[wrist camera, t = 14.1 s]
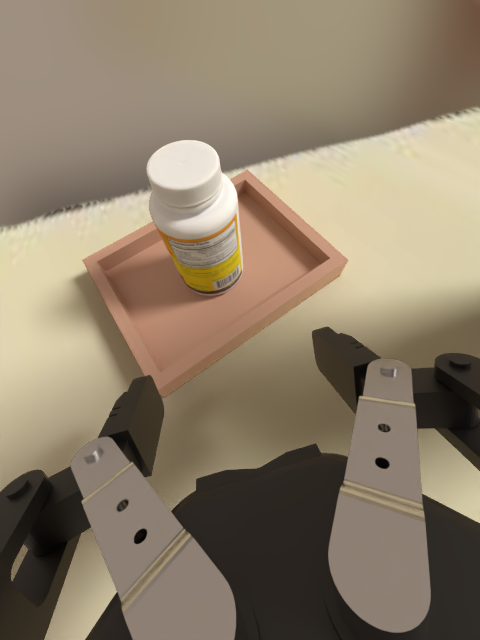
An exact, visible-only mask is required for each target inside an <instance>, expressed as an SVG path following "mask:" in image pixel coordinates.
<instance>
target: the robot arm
mask: <svg viewBox="0 0 480 640" xmlns="http://www.w3.org/2000/svg"><path fill="white" fill-rule="evenodd" d="M312 338H313V346H314V353H315V359H316V363H317V366H318V368H319V370H320V371H321V372H322V374H323V375H324V376H325V377H326V378H327V380H328V381H329V382H330V383H331V385H332V386H333V387H334V388H335V389H336V391H337V392H338V393H339V394H340V396H341V397H342V398H343V399H344V401H345V402H346V403H347V404H348V405H349V407H350V408H351V409H352V410H353V412H354V413H355V414H356V417H355V423H354V428H353V434H352V439H351V445H350V450H349V456H348V457H347V456H343V455H338V454H331V453H321V452H320V451H319V449H318V447H317V445H316V444H313V445H309V446H306V447H303V448H299V449H296V450H293V451H289V452H286V453H285V454H283V455H281V456H279V457H278V458H276V459H274V460H272V461H271V462H269V463H267V464H265V465H264V466H262V467H260V468H256V469H238V470H225V471H221V472H218V473H215V474H211V475H208V476H204V477H201V478H198V479H196V491H194V492H193V493H191V494H190V495H188V496H187V497H186V498H185V499H183V500H182V501H181V502H180V503H179V504H178V505H177V506H176V507H175V508H174V509H173V510H172V511H170V510H169V509H168V507H167V506H166V505H165V503H164V502H163V501H162V499H161V498H160V497H159V496H158V494H157V493H156V492H155V490H154V489H153V488H152V486H151V485H150V484H149V483H148V481H147V480H146V479H145V477H148V476H151V475H152V470H153V465H154V460H155V455H156V450H157V446H158V441H159V436H160V431H161V426H162V422H163V417H164V405H163V401H162V399H161V397H160V394H159V392H158V389H157V387H156V385H155V382H154V380H153V378H152V376H151V375H147V376H144V377H140V378H136V379H134V380H133V381H132V383H131V385H130V387H129V390H128V392H124V393H123V394H122V395H121V396H120V397H119V399H118V400H117V401H116V402H115V404H114V406H113V408H112V411H111V412H110V414H109V418H108V419H107V421H106V423H105V425H104V427H103V429H102V431H101V433H100V435H99V437H98V439H95V440H93V441H91V442H90V443H88V444H87V445H85V446H84V447H83V448H81V449H80V450H79V451H78V452H77V454H76V455H75V456H74V458H73V459H72V462H71V466H70V467H68V468H66V469H65V470H63V471H61V472H59V473H57V474H55V475H53V476H51V477H49V478H47V476H46V475H45V473H44V472H43V471H42V470H33V471H30V472H27V473H25V474H23V475H21V476H20V477H18V478H17V479H15V480H14V481H12V482H11V483H10V484H9V485H7V486H6V487H5V488H4V489H3V490H2V491H1V492H0V640H44V638H45V635H46V633H47V630H48V627H49V624H50V621H51V618H52V615H53V612H54V610H55V607H56V604H57V601H58V598H59V595H60V592H61V590H62V587H63V584H64V581H65V578H66V575H67V572H68V569H69V567H70V564H71V561H72V558H73V555H74V552H75V549H76V547H77V544H78V541H79V538H80V535H81V533H82V532H84V531H85V530H87V529H89V528H90V527H92V530H93V532H94V535H95V537H96V540H97V542H98V545H99V547H100V550H101V552H102V555H103V557H104V560H105V562H106V565H107V567H108V570H109V572H110V575H111V577H112V580H113V582H114V585H115V587H116V590H117V593H116V594H115V596H114V597H113V599H112V600H111V602H110V603H109V605H108V606H107V608H106V609H105V611H104V612H103V614H102V615H101V617H100V618H99V620H98V621H97V623H96V624H95V626H94V627H93V629H92V630H91V632H90V633H89V635H88V636H87V638H86V639H85V640H480V523H478V522H476V521H474V520H472V519H470V518H468V517H466V516H464V515H462V514H460V513H459V512H457V511H455V510H453V509H451V508H449V507H447V506H445V505H443V504H441V503H439V502H437V501H435V500H433V499H431V498H430V497H428V496H426V495H424V494H422V489H421V476H420V462H419V449H418V435H417V428H435V429H436V430H437V431H438V432H439V433H440V434H441V435H442V436H444V437H445V438H446V439H447V440H448V441H449V442H450V443H451V444H452V445H453V446H454V447H455V448H456V449H457V450H458V451H459V452H460V453H461V454H462V455H463V456H465V457H466V458H467V459H468V460H469V461H470V462H471V463H472V464H473V465H474V466H475V467H476V468H477V469H478V470H479V471H480V359H478V358H476V357H473V356H470V355H466V354H459V353H449V354H443V355H440V356H438V357H437V358H436V359H435V364H434V368H419V369H411V368H410V367H409V366H408V365H407V364H406V363H404V362H402V361H399V360H396V359H389V358H384V359H381V358H380V357H379V356H377V355H376V354H375V353H373V352H372V351H371V350H369V349H368V348H367V347H364V345H362V344H361V343H360V342H358V341H357V340H356V339H354V338H353V337H352V336H349V335H346V334H343V333H340V334H337V333H336V332H334V331H333V330H332V329H331V328H329V327H324V328H321V329H317V330H313V331H312ZM23 544H24V545H25V546H26V547H27V548H28V551H27V553H26V555H25V557H24V559H23V561H22V563H21V565H20V567H19V570H18V572H17V574H16V576H15V578H14V580H13V582H11V569H12V565H13V563H14V561H15V559H16V557H17V555H18V553H19V551H20V549H21V547H22V545H23Z"/></svg>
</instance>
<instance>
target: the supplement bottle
mask: <svg viewBox="0 0 480 640" xmlns="http://www.w3.org/2000/svg"><path fill="white" fill-rule="evenodd" d="M147 175H148V178H149V181H150V183H151V186H152V193H151V196H150V200H149V211H150V215H151V217H152V220H153V222H154V224H155V226H156V228H157V230H158V232H159V234H160V236H161V238H162V240H163V242H164V244H165V246H166V248H167V250H168V251H169V254H170V255H171V258H172V260H173V261H174V263H175V265H176V267H177V269H178V271H179V273H180V276H181V277H182V279H183V281H184V283H185V284H186V285H187V286H188V287H189V288H190V289H191V290H192V291H194V292H196V293H198V294H201V295H207V296H213V295H219V294H222V293H225V292H227V291H229V290H230V289H231V288H233V287H234V286H235V285H236V284H237V282H238V281H239V279H240V278H241V275H242V272H243V255H242V243H241V232H240V220H239V208H238V198H237V192H236V189H235V187H234V185H233V183H232V182H231V181H230V179H229V178H228V177H227V176H226V175H224V174H223V173H222V172H221V169H220V162H219V158H218V155H217V153H216V151H215V150H214V149H213V148H212V147H210V146H209V145H207V144H206V143H203V142H200V141H194V140H183V141H177V142H173V143H170V144H168V145H165V146H163V147H162V148H160V149H159V150H158V151H156V152H155V153H154V154H153V155H152V156H151V158H150V160H149V161H148V164H147Z"/></svg>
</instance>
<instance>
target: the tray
mask: <svg viewBox="0 0 480 640" xmlns="http://www.w3.org/2000/svg"><path fill="white" fill-rule="evenodd" d="M230 181H231V182H232V183H233V185H234V187H235V189H236V192H237V198H238V208H239V220H240V232H241V243H242V255H243V272H242V275H241V278H240V279H239V281H238V282H237V284H236V285H235V286H234V287H233V288H231V289H230V290H229V291H227V292H225V293H222V294H219V295H213V296H207V295H201V294H198V293H196V292H194V291H192V290H191V289H190V288H189V287H188V286H187V285H186V284H185V283H184V281H183V279H182V277H181V276H180V273H179V271H178V269H177V267H176V265H175V263H174V261H173V260H172V258H171V255H170V254H169V251H168V250H167V248H166V246H165V244H164V242H163V240H162V238H161V236H160V234H159V232H158V230H157V228H156V226H155V224H154V222H151V223H149V224H147V225H146V226H144V227H142V228H140V229H138V230H136V231H135V232H133V233H131V234H129V235H127V236H125V237H124V238H122V239H120V240H118V241H116V242H114V243H113V244H111V245H109V246H107V247H105V248H103V249H102V250H100V251H98V252H96V253H94V254H92V255H91V256H89V257H87V258H85V259H83V260H82V261H83V262H84V264H85V266H86V268H87V270H88V272H89V274H90V275H91V277H92V279H93V281H94V283H95V285H96V287H97V288H98V290H99V292H100V294H101V296H102V298H103V300H104V301H105V303H106V305H107V307H108V309H109V311H110V312H111V314H112V316H113V318H114V320H115V322H116V324H117V325H118V327H119V329H120V331H121V333H122V335H123V337H124V338H125V340H126V342H127V344H128V346H129V348H130V349H131V351H132V353H133V355H134V357H135V359H136V361H137V362H138V364H139V366H140V368H141V370H142V372H143V374H144V375H145V376H147V375H151V376H152V378H153V380H154V382H155V385H156V387H157V389H158V392H159V394H160V395H161V396H164V397H166V396H167V395H169V394H170V393H172V392H173V391H174V390H176V389H177V388H179V387H180V386H182V385H183V384H185V383H186V382H187V381H189V380H190V379H192V378H193V377H195V376H196V375H198V374H199V373H200V372H202V371H203V370H205V369H206V368H208V367H209V366H211V365H212V364H213V363H215V362H216V361H218V360H219V359H221V358H222V357H223V356H225V355H226V354H228V353H229V352H231V351H232V350H234V349H235V348H236V347H238V346H239V345H241V344H242V343H244V342H245V341H247V340H248V339H249V338H251V337H252V336H254V335H255V334H257V333H258V332H260V331H261V330H262V329H264V328H265V327H267V326H268V325H270V324H271V323H272V322H274V321H275V320H277V319H278V318H280V317H281V316H283V315H284V314H285V313H287V312H288V311H290V310H291V309H293V308H294V307H296V306H297V305H298V304H300V303H301V302H303V301H304V300H306V299H307V298H309V297H310V296H311V295H313V294H314V293H316V292H317V291H319V290H320V289H321V288H323V287H324V286H326V285H327V284H329V283H330V282H332V281H333V280H334V279H336V278H337V277H339V276H340V275H341V273H342V271H343V269H344V267H345V265H346V263H347V261H348V259H347V258H345V257H344V256H343V255H342V254H341V253H340V252H339V251H338V250H336V249H335V248H334V247H333V246H332V245H331V244H330V243H329V242H328V241H326V240H325V239H324V238H323V237H322V236H321V235H320V234H319V233H317V232H316V231H315V230H314V229H313V228H312V227H311V226H310V225H309V224H307V223H306V222H305V221H304V220H303V219H302V218H301V217H300V216H298V215H297V214H296V213H295V212H294V211H293V210H292V209H291V208H290V207H288V206H287V205H286V204H285V203H284V202H283V201H282V200H281V199H279V198H278V197H277V196H276V195H275V194H274V193H273V192H272V191H271V190H269V189H268V188H267V187H266V186H265V185H264V184H263V183H262V182H260V181H259V180H258V179H257V178H256V177H255V176H254V175H253V174H252V173H250V172H249V171H248V170H246V171H244V172H243V173H241V174H239V175H237V176H235V177H233V178H232V179H230Z"/></svg>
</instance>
